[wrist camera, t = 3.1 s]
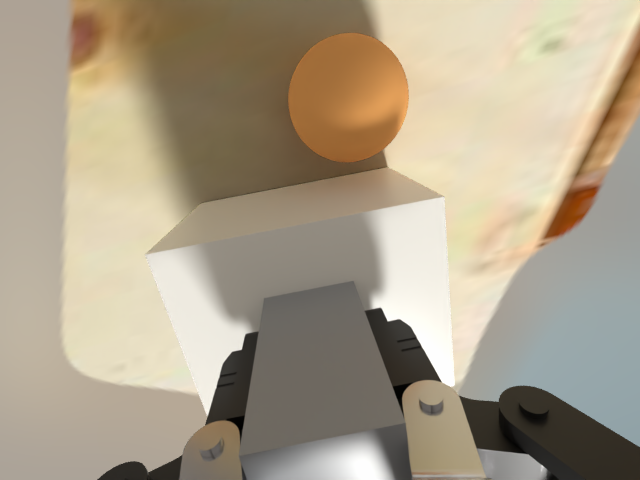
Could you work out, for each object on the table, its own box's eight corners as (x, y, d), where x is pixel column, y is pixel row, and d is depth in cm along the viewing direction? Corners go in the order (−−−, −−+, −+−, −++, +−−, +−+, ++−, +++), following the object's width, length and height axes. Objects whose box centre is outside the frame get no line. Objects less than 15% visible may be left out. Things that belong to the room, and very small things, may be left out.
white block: (200, 203, 18) (-5, 392, 6) (387, 167, 18) (594, 275, 6) (239, 330, 21) (159, 647, 8) (402, 298, 21) (562, 565, 8)
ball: (278, 57, 16) (272, 32, 11) (384, 37, 16) (421, 3, 11) (300, 164, 18) (302, 181, 13) (395, 146, 18) (431, 156, 13)
